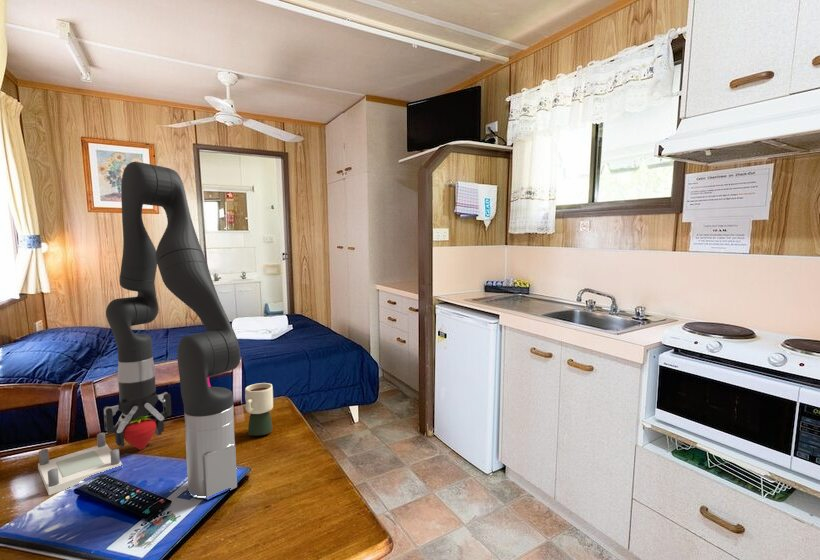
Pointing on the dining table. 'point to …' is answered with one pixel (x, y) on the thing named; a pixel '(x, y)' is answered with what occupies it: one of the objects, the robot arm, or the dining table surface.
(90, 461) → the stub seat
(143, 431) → the strawberry
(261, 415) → the character mug
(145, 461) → the dining table surface
